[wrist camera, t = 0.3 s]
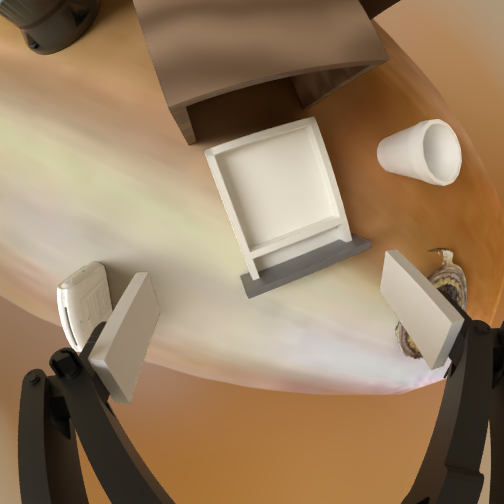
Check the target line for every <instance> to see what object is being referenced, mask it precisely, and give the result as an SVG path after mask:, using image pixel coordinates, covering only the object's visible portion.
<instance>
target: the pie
mask: <svg viewBox="0 0 504 504" xmlns="http://www.w3.org/2000/svg"><path fill="white" fill-rule="evenodd" d="M441 249H443V251H442V252H443V256H444V257H446V256H447V257H448V258H443V257H442V258H443V259H444V261H445V260H446V261H447V262H446V263H444V262H443V263H442V265H443V268H442V269H440V270H437V271H435V272H434V273H433V274H432V275H431V276H430V277H429V279H428V280H429V281H430V282H431V283H432V285H433V286H434V287H435V288H436V289H439V288H440V289H441V290H443V291H445V292H446V293H448V294H449V295H450V296H451V297H452V298H453V300H454V301H455V302H456V303H457V304H458V305H459V306H460V307H461V308H462V309H463V310H464V311H465V310H466V303H467V281H466V279H465V275H464V273H463V270H462V268H461V267H459V266H457V265H456V264H453V262H452V258H453V252H452V251H451V250H448V249H444V248H441ZM441 249H433V250H429V251H431V252H433V251H437V252H438V254H439V252H440V250H441ZM439 256H440V255H439ZM444 265H445V266H444ZM395 331H396V332H395V333H396V335H397V337H398V344H399V347H400V349H401V351H402V352H403V353H404V354H405V355H406V356H408V355H409V357H413V358H414V359H417V358H418V359H420V358H424V357H423V356H422V354H421V353H420V351H419V350H418V348H417V346H416V345H415V343H414V342H413V340H412V339H411V337H410V336H409V334H408V333H407V331H406V330H405V328H404V327H403V325H402V324H401V322H400V321H399V323H398V325H397V326H396V329H395Z"/></svg>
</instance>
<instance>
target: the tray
mask: <svg viewBox="0 0 504 504" xmlns="http://www.w3.org/2000/svg"><path fill="white" fill-rule="evenodd" d="M204 154H205V156H206V159H207V162H208V164H209V167H210V170H211V172H212V175H213V178H214V180H215V183H216V186H217V188H218V191H219V194H220V196H221V199H222V202H223V204H224V207H225V210H226V212H227V215H228V218H229V220H230V223H231V226H232V228H233V231H234V234H235V236H236V239H237V241H238V244H239V247H240V249H241V252H242V254H243V257H244V260H245V262H246V265H247V268H248V270H249V273H247V274H244V275H242V276H240V277H241V280H242V283H243V285H244V288H245V291H246V294H247V296H248V299H250V298H252V297H255V296H257V295H260V294H262V293H265V292H267V291H270V290H272V289H275V288H277V287H280V286H282V285H285V284H287V283H290V282H292V281H295V280H297V279H299V278H302V277H304V276H307V275H309V274H311V273H314V272H316V271H318V270H321V269H323V268H326V267H328V266H330V265H333V264H335V263H337V262H339V261H342V260H344V259H346V258H349V257H351V256H353V255H355V254H358V253H360V252H362V251H364V250H367V249H369V248H371V247H372V246H371V241H370V240H367V239H365V238H362V237H360V236H357V235H355V234H352V233H350V229H349V225H348V221H347V218H346V214H345V210H344V206H343V203H342V199H341V196H340V192H339V189H338V185H337V182H336V179H335V175H334V172H333V169H332V166H331V163H330V160H329V157H328V153H327V150H326V148H325V145H324V142H323V139H322V136H321V133H320V130H319V127H318V125H317V122H316V119H315V117H310V118H306V119H302V120H298V121H294V122H291V123H287V124H284V125H280V126H277V127H273V128H270V129H266V130H263V131H260V132H257V133H253V134H250V135H247V136H244V137H241V138H238V139H235V140H232V141H229V142H226V143H223V144H221V145H218V146H215V147H212V148H210V149H207V150H204Z"/></svg>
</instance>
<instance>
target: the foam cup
mask: <svg viewBox="0 0 504 504" xmlns="http://www.w3.org/2000/svg"><path fill="white" fill-rule="evenodd" d="M377 158H378V160H379V163H380V165H381V166H382V167H383V168H384V169H385V170H386V171H388V172H391V173H395V174H399V175H403V176H407V177H411V178H415V179H419V180H423V181H425V182H427V183H430V184H433V185H441V186H445V185H448V184H451V183H453V182H454V180H455V179H456V178H457V176H458V175H459V172H460V167H461V163H462V159H461V147H460V144H459V142H458V139H457V136H456V134H455V133H454V131H453V130H452V129H451V127H450V126H449V125H448V124H447V123H445V122H443V121H442V120H440V119H435V120H428V121H422V122H419V123H418V124H417V125H414V126H412V127H410V128H407V129H405V130H402V131H400V132H398V133H395V134H393V135H391V136H388V137H386V138H384V139H383V140H382V141H381V142H380V143H379V145H378V148H377Z"/></svg>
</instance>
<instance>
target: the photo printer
mask: <svg viewBox="0 0 504 504" xmlns="http://www.w3.org/2000/svg"><path fill="white" fill-rule="evenodd" d="M57 301H58V309H59V314H60V318H61V322H62V326H63V329H64V332H65V334H66V337H67V339H68V341H69V343H70V345H71V346H72V347H73V349H74V350H75V351H77V352H81V351H82V349H83V348H84V346H85V344H86V343H87V340H88V339H89V337H90V335H91V333H92V332H93V330H94V328H95V327H96V326H97V325H98V324H100V323H101V322H102V321H106V322H107V321H108V319H109V318H110V316H111V314H112V312H113V311H112V305H111V299H110V293H109V287H108V281H107V275H106V271H105V267H104V265H102V264H100V263H98V262H91V263H89V264H88V265H86V266H83V267H82V268H80V269H79V270H78V271H76V272H75V273H74V274H72V275H71V276H70V277H68V278H67V279H66V280H64V281H63V282H62V283H60V284H59V285H58V288H57Z"/></svg>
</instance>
